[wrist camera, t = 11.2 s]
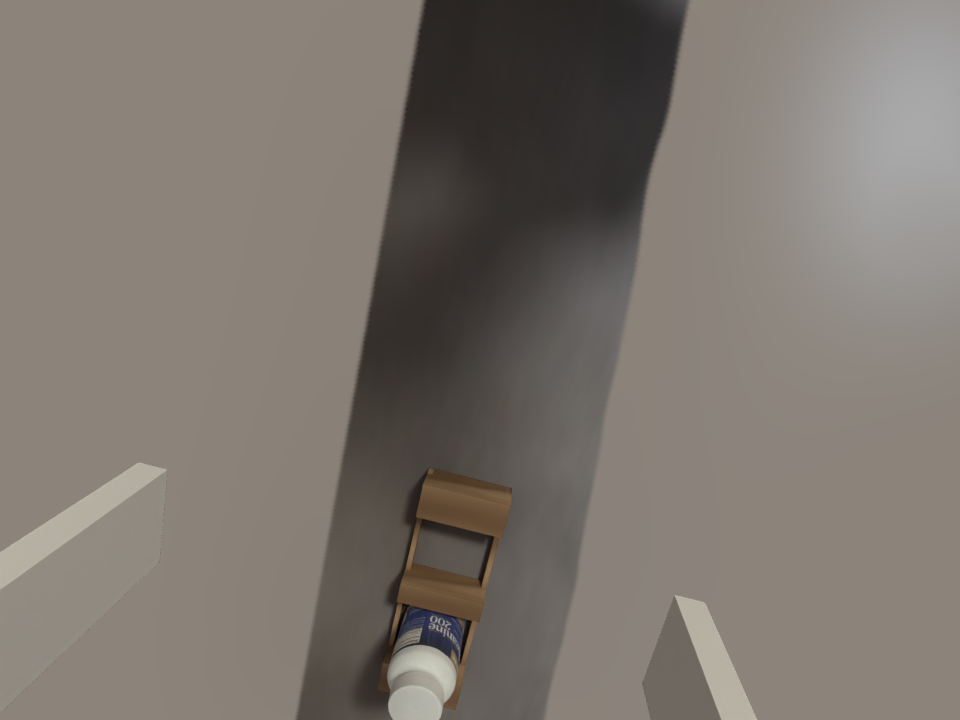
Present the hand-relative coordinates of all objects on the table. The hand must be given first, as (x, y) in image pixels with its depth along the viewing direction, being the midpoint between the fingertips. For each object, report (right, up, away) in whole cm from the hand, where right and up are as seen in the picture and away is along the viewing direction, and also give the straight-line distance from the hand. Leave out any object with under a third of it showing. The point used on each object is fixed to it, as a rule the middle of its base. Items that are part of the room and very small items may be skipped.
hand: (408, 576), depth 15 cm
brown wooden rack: (-1, -14, +36) cm, 38 cm away
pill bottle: (-2, -17, +37) cm, 41 cm away
